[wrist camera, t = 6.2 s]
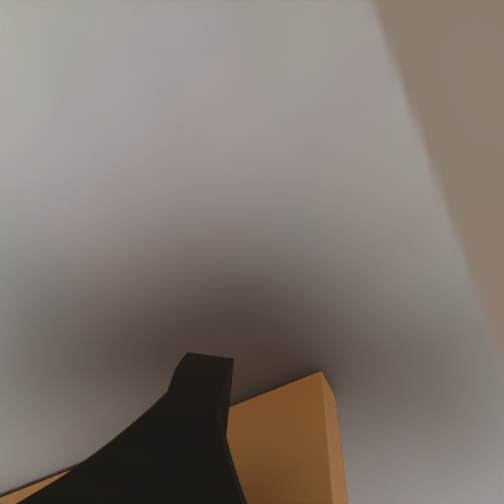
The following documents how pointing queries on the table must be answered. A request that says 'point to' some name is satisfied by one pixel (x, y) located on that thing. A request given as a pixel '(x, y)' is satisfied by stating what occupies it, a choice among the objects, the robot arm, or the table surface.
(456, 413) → the table surface
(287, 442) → the side door
